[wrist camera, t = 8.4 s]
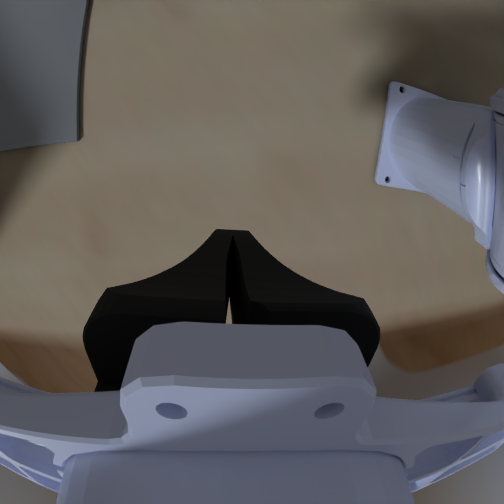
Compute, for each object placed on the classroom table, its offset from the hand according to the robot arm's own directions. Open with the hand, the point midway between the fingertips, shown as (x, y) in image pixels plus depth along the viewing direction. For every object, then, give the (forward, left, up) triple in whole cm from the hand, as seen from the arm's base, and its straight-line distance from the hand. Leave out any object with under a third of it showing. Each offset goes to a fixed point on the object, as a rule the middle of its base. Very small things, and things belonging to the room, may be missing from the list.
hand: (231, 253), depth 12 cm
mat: (+21, -13, -10) cm, 27 cm away
